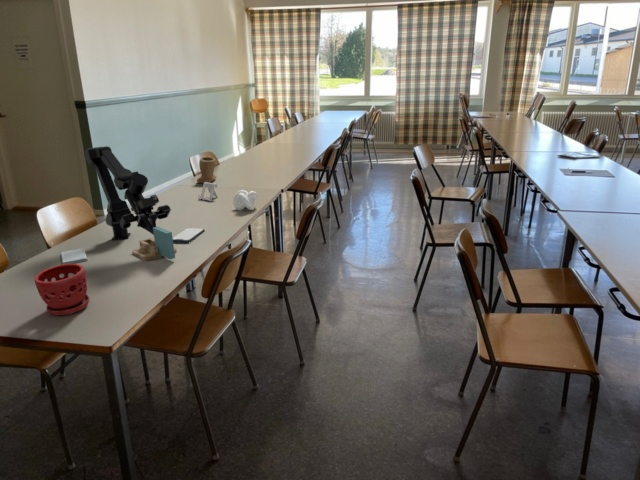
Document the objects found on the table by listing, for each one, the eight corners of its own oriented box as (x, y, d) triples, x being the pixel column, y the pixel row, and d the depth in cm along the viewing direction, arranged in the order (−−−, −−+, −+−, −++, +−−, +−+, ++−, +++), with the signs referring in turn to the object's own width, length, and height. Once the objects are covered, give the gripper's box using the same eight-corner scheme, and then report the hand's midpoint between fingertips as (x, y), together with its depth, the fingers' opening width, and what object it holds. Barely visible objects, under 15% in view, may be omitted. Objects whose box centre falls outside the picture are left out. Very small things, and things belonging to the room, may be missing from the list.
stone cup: (213, 184, 291) (210, 159, 286) (194, 184, 293) (191, 159, 287) (221, 178, 305) (219, 154, 300) (203, 178, 307) (200, 154, 301)
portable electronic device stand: (198, 199, 258) (196, 184, 256) (209, 196, 264) (207, 181, 262) (209, 201, 254) (207, 186, 251) (220, 198, 260) (219, 183, 257)
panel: (156, 252, 182) (152, 227, 179) (161, 251, 184) (157, 226, 180) (170, 259, 176) (166, 233, 172) (175, 257, 177) (171, 232, 174)
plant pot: (66, 296, 152) (58, 261, 148) (101, 301, 148) (94, 265, 144) (32, 316, 140) (22, 278, 136) (69, 321, 137) (60, 283, 133)
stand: (132, 253, 186) (130, 243, 184) (160, 244, 194) (159, 235, 192) (147, 261, 178) (146, 251, 176) (176, 251, 186) (175, 242, 184)
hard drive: (87, 258, 180) (83, 247, 190) (62, 262, 176) (60, 252, 186) (87, 262, 180) (84, 251, 191) (63, 266, 177) (61, 255, 187)
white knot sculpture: (260, 211, 234) (258, 193, 231) (235, 213, 232) (233, 195, 229) (257, 205, 245) (255, 188, 241) (233, 207, 242) (231, 190, 239)
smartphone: (187, 231, 211) (169, 243, 196) (186, 227, 211) (168, 239, 196) (206, 232, 209) (189, 244, 195) (205, 228, 209) (188, 240, 194)
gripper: (117, 194, 172) (137, 229, 169) (165, 184, 185) (184, 217, 181) (111, 211, 180) (130, 245, 177) (157, 200, 193) (175, 232, 189)
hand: (156, 234), depth 181 cm, fingers closed
